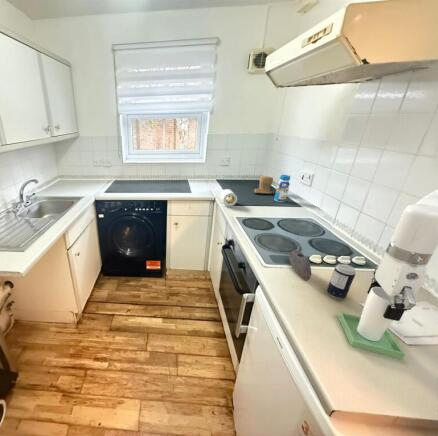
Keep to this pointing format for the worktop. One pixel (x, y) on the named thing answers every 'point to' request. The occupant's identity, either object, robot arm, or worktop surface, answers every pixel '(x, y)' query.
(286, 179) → the beverage bottle
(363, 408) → the worktop surface
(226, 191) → the toilet paper
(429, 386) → the worktop surface
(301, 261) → the perforated stone tool
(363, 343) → the green tray
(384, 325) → the white cup
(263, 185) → the brown cylinder on base
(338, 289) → the beverage can
